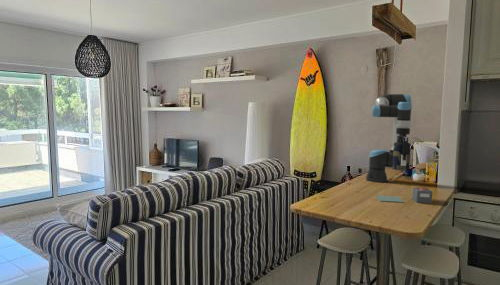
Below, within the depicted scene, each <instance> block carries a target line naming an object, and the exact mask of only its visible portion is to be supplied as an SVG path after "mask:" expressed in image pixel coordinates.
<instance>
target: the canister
mask: <svg viewBox="0 0 500 285" xmlns="http://www.w3.org/2000/svg"><path fill="white" fill-rule="evenodd" d="M402 147H403V143H400V141H399V142H395V143H394V149H393V168H392V169H393V170H396V171H400V172H401V171H409V170H410V165H411V164H410V163H411V162H410V160H411V147H412V146H411V143H410V142H408V154H407V158H406V166H401V153H402Z"/></svg>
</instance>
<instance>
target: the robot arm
mask: <svg viewBox="0 0 500 285" xmlns="http://www.w3.org/2000/svg"><path fill="white" fill-rule="evenodd" d="M412 106H413V105H412V96H411V94H409V93H408V94H407V93H394V94H391V93H389V94H387V93H386V94H382V95H381V96H379V97H377V98H376V99H375V101H374V105H372V110H371V111H372V112H371V115H372V117H373V118H393V127H392V143H391V147H390V148H389V151H387V149H373V150H371V151H370V152H369V156H368V157H369V160H368V161H369V162H368V172H367V173H366V175H365V180H366V181H369V182H374V183H375V182H376V183H386V182H388V176H387V172H386V168H392V169H393V149H394V143H395V142H399V141H400V143H403V147H402V153H401V166H406V158H407V154H408V143H409V137H408V136H407V135H410V133H411V122H412V121H411V118H412V117H411V115H412V110H413V109H412V108H413V107H412Z"/></svg>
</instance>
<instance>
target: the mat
mask: <svg viewBox="0 0 500 285" xmlns="http://www.w3.org/2000/svg"><path fill="white" fill-rule="evenodd" d="M375 197H376V198H377V199H378V201H379V202H386V203H405V202H404V200H403V199H402V198H400V197H399V196H392V195H378V194H377V195H375Z"/></svg>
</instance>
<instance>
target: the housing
mask: <svg viewBox="0 0 500 285" xmlns="http://www.w3.org/2000/svg"><path fill="white" fill-rule="evenodd" d="M425 188H426V190H419V187H412V198H411V199H412V200H413V201H414V202H415V203H417V204H418V203H419V204H433V203H432V202H433V190H431V189H429V188H428V187H425Z"/></svg>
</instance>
